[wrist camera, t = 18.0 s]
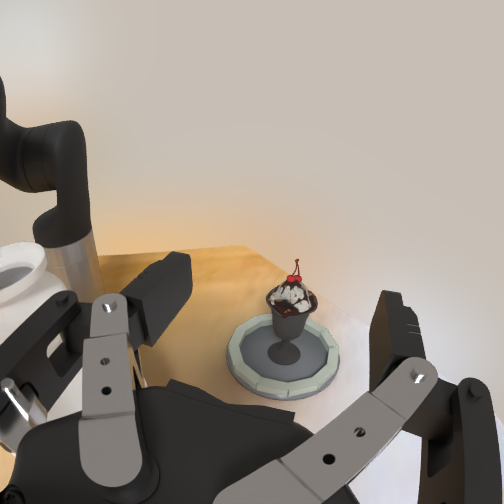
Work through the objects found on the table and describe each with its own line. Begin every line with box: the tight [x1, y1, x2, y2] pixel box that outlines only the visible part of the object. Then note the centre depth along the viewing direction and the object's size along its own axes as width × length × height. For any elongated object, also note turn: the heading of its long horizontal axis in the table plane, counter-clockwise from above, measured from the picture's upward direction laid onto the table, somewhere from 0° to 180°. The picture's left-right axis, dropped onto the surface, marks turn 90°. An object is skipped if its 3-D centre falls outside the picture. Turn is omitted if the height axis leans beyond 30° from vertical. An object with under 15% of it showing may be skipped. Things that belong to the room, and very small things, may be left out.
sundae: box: [266, 259, 318, 365], centre depth 40 cm, size 7×7×15 cm
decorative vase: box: [0, 242, 148, 458], centre depth 22 cm, size 18×18×25 cm
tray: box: [226, 313, 340, 400], centre depth 44 cm, size 17×17×2 cm
